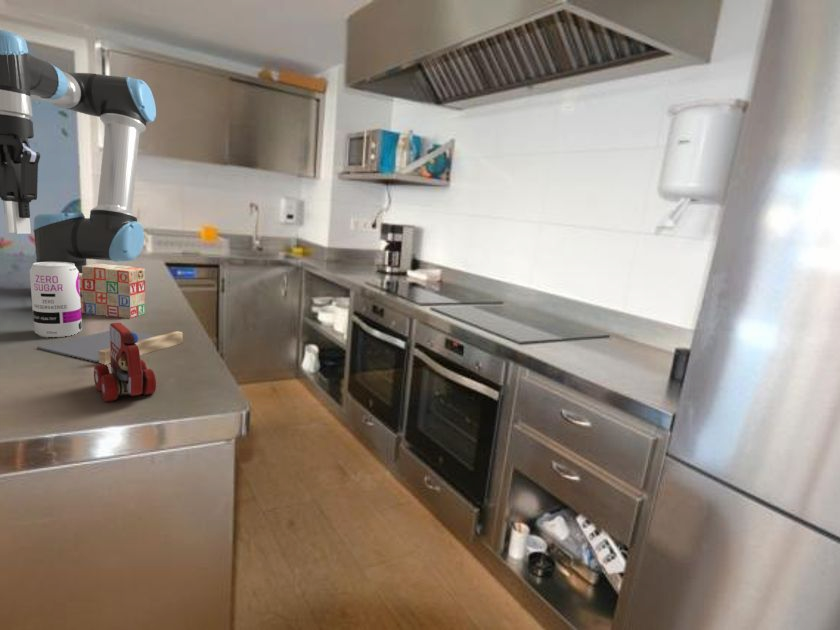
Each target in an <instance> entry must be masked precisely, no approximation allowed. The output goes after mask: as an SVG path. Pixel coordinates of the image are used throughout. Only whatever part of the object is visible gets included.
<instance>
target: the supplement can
mask: <svg viewBox="0 0 840 630" xmlns="http://www.w3.org/2000/svg"><path fill="white" fill-rule="evenodd" d="M29 284H30V294H31V308H32V319H33V320H32V321H33V332H34V333H35V334H37V335H38V337H42V338H48V337H53V338H54V337H57V338H65V336H67V337H71V335H72V336H75V335H78V334H79V333H78V332H81V331H82V330H83V321H82V320H83V319H82V314H81V302H80V285H79V271H78V270H77V268H76V267H75V264H74V263H68V262H37V261H36V262H34V263H32V266H31V268H30V269H29ZM77 333H78V334H77ZM74 334H75V335H74Z"/></svg>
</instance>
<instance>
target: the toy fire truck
mask: <svg viewBox="0 0 840 630" xmlns="http://www.w3.org/2000/svg"><path fill="white" fill-rule="evenodd" d="M109 331H110V344H111V345H110V346H111V356H110V357H111V364H110V368H109V366H108V364H107V365H103V364H97V365H95V366H94V368H93V380H94V386H95V388H96V390H97V391H99V392H101V396H102V400H103V402H107V403H108V402H113V401H116V400H117V399H118V398H119V397H118V396H120V395H123V394H124V393H127V394H129V395H130V396H139V395H142V394H143V395H144V396H147V395H153V394H155V393H156V389H157V380H156V374H155V372H154V370H153V369H150V368H147V364H146V361H144V360H143V359H142V358H141V355H140V352H139V348H138V346H137V345H136V344H135V343H137V342H138V336H137V335H136V334H135V333H132V332H131V331H132V330H131V331H130V329H129V328H127V326H125V325H124V324H122V322H111V323H110V324H109Z"/></svg>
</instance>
